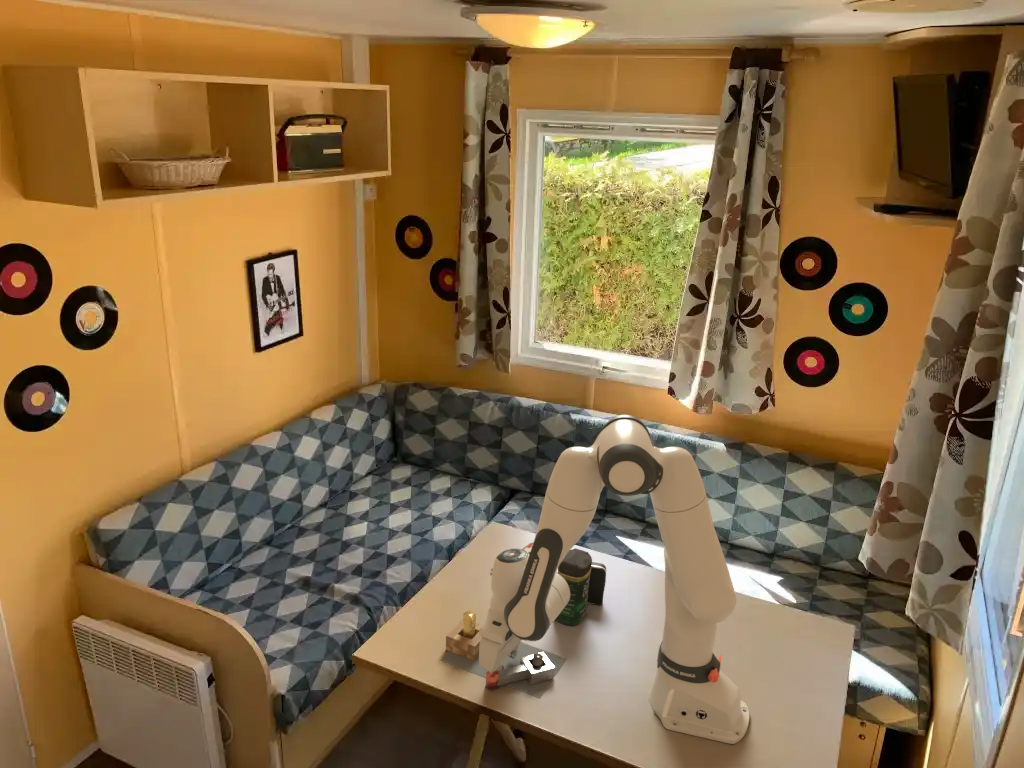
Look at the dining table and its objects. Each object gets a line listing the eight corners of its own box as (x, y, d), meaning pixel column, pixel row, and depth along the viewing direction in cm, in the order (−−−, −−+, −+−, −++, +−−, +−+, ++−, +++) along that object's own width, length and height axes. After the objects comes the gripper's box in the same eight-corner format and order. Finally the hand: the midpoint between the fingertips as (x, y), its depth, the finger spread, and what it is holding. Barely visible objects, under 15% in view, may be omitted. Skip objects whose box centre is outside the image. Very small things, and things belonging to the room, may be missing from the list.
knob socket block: (542, 662, 189) (543, 651, 188) (554, 678, 183) (555, 667, 182) (481, 678, 182) (481, 667, 181) (491, 695, 177) (492, 683, 176)
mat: (566, 660, 191) (566, 658, 191) (539, 700, 177) (539, 698, 177) (472, 627, 202) (473, 625, 201) (440, 662, 188) (440, 660, 188)
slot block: (490, 642, 195) (490, 628, 194) (474, 660, 188) (475, 646, 187) (461, 632, 198) (462, 618, 197) (445, 649, 192) (446, 635, 190)
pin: (476, 644, 194) (478, 613, 191) (470, 651, 191) (472, 619, 189) (465, 640, 195) (467, 609, 192) (459, 647, 193) (461, 616, 190)
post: (543, 673, 185) (544, 655, 184) (539, 679, 183) (540, 661, 182) (534, 669, 186) (535, 652, 185) (529, 675, 184) (531, 657, 183)
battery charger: (604, 598, 217) (607, 562, 214) (602, 606, 214) (606, 569, 210) (578, 594, 218) (582, 558, 215) (577, 602, 215) (580, 565, 211)
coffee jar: (577, 631, 202) (583, 568, 197) (549, 621, 206) (554, 559, 200) (590, 612, 211) (596, 551, 205) (563, 603, 214) (568, 542, 208)
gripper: (517, 588, 191) (514, 636, 196) (474, 633, 174) (472, 684, 178) (540, 596, 189) (536, 645, 193) (500, 642, 171) (497, 694, 176)
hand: (505, 664), depth 185 cm, fingers open, 5 cm apart
